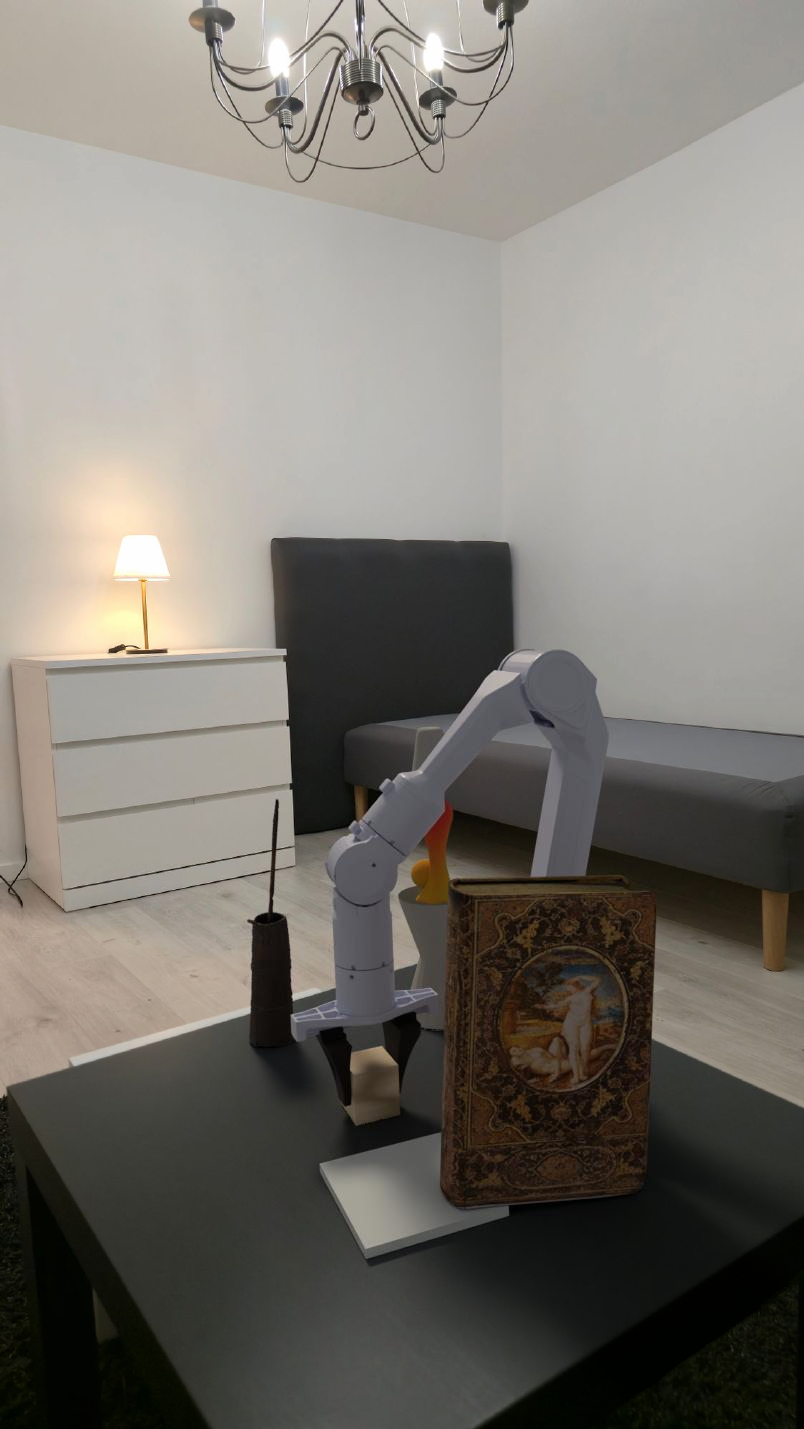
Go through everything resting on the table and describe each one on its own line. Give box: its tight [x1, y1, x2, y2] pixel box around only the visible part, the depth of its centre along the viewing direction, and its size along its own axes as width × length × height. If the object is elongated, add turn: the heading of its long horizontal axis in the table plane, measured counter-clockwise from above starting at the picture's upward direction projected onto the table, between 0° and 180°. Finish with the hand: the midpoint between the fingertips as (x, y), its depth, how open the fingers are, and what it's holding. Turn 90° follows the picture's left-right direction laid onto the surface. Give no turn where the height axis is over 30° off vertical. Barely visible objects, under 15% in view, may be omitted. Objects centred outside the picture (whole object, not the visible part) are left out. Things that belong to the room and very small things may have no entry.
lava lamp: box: [397, 726, 454, 1029], centre depth 108 cm, size 9×9×35 cm
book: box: [440, 874, 657, 1209], centre depth 74 cm, size 16×6×25 cm, turn 100°
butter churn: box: [246, 798, 295, 1048], centre depth 103 cm, size 9×10×28 cm
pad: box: [319, 1131, 510, 1260], centre depth 75 cm, size 12×12×1 cm
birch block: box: [340, 1045, 401, 1127], centre depth 88 cm, size 4×4×5 cm
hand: (369, 1095), depth 89 cm, fingers closed on birch block, 4 cm apart
